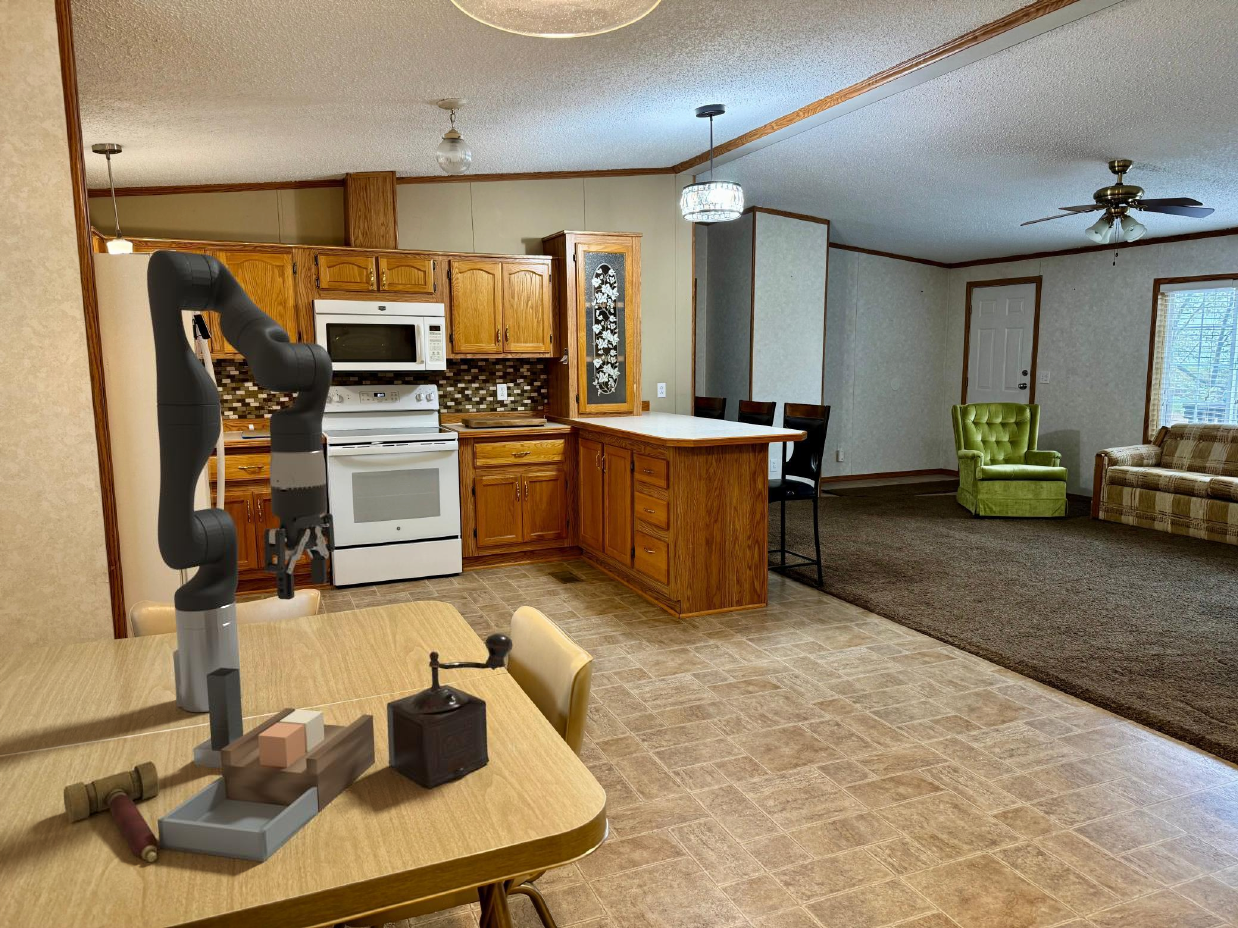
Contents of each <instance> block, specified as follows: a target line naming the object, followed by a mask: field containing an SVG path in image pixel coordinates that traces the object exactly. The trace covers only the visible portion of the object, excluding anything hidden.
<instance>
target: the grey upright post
mask: <svg viewBox="0 0 1238 928" xmlns="http://www.w3.org/2000/svg"><path fill="white" fill-rule="evenodd" d="M206 676H207V691H208V705H209V711H208V714H209V719H208V720H209V732H210V738H208V739H207V740H205V741H203V742H202V743H200V744H198V745H197V746H195V747H194V748H193V752H192V753H193V761H194V762H193V763H194V764H193V765H194V766H196V767H207V768H218V769H222V766H221V751H220V750H221V749H223V748H224V747H226V746H228V745H229V744H231V743H232V742H234V741H235V740H237V739H239V738H240V737H242V736H243V735H244V724H243V709H242V698H241V692H242V691H241V692H240V677H241V675H240V676H239V669H233V668H219V669H217V670H215V671H213V672H211V673H209V674H207V675H206Z"/></svg>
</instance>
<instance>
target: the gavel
mask: <svg viewBox="0 0 1238 928" xmlns="http://www.w3.org/2000/svg"><path fill="white" fill-rule="evenodd" d="M133 768H134V769H133V770H125V771H122V772H121V771H120V772H119V773H118V772H117V773H115V774H113V775H108V776H104V777H101V778H99V779H96V780H91V782H90V783H87V784H85V783H84V782H83V781H80V782H76V783H73V784H70V785H66V786H65V787H64V789H63V805H64V809H65V815H66V818H67V819H68V818H69V819H68V821H69V820H70V821H71V822H70V821H69V822H70V823H75V822H74V821H76V822H79V821H81V820H80V819H82V820H84V819H83V818H85V819H87V817H88V818H90V814H92V813H95V812H96V811H97V812H96V813H99V811H100V812H102V810H103V811H106V810H108V808H109V811H110V814H111V815H112V817H113V820H114V821H115V822H116V824H117V826H118V828H119V830H120V831H121V833H122V835H123V837H124V838H125V840H126V842H127V844H128V845H129V847H130V849H131V850H132V853H133V854H134V855H135V856H136V857H139V858H141V859H143V860H146V861H147V862H149V863H153V862H155V861H156V859H157V857H158V854H157V853H158V839H157V837H156V836H155V834H154V832H153V830H152V829H151V827H150V826H149V824H148V823H147V821H146V820H145V818H144V816H143V815H142V814H141V812H140V810H139V808H138V807H137V806H136V804H135V802H134V801H133V800H136V799H139V798H140V799H141V801H144V800H147V799H150V798H152V797H156V796H158V795H159V792H160V779H159V774H158V769H157V767H156V765H155V763H154V762H152V761H148V762H144V763H141V764H136V765H135V766H134V767H133ZM105 809H106V810H105ZM78 820H79V821H78Z"/></svg>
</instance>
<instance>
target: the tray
mask: <svg viewBox="0 0 1238 928" xmlns="http://www.w3.org/2000/svg"><path fill="white" fill-rule="evenodd" d="M318 814H319V812H318V800H317V787H311V788H310V789H309V790H308V791H307V792H305V793H304V794H303V795H302V796H301V797H299V798H298V799H297V800H296V801H295V802H293V803H292V804H291V805H290V806H282V805H273V804H264V803H255V802H246V801H237V800H228V799H226V790H225V777H222V776H219V777H218V778H217V779H215V780H214V781H212V782H211V783H210V784H208V785H207V786H205V787H203V788H202V789H201V790H200V791H198V792H196V793H195V794H193V795H192V796H191V797H189V798H188V799H186V800H185V801H184V802H182V803H180V804H179V805H178V806H176V807H175V808H173V809H172V810H170V811H169V812H167V813H166V814H165V815H163V816H162V817H160V818H159V819H157V828H158V842H159V849H162V850H173V851H178V852H186V853H193V854H201V855H210V856H217V857H225V858H232V859H240V860H248V861H254V862H260V863H261V862H263V863H265V862H266V861H267V860H268V859H269V858H271V857H272V856H273V855H274V854H275V853H276V852H277V851H278V850H279V849H280V848H282V847H283V846H284V845H285V844H286V843H287V842H288V841H290V839H292V838H293V837H294V836H295V835H296V834H297V833H298V832H299V831H300V830H302V829H303V828H304V827H305V826H306V825H307V824H308V823H310V821H311V820H312V819H314V818H315V817H316V816H317V815H318Z"/></svg>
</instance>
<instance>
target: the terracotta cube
mask: <svg viewBox="0 0 1238 928" xmlns="http://www.w3.org/2000/svg"><path fill="white" fill-rule="evenodd" d="M258 741H259V756H260V765H268V766H278V767H289V766H290V765H291V764H293V763H294V762H295V761H296V760H298V759H299V758H300V757H302V756H303V755H304V754H305V737H304V725H298V724H287V723H276V724H274V725H273V726H271V727H270V728H268V729H267V730H265V731H264V732H262V733H261V734H259V735H258Z"/></svg>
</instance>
